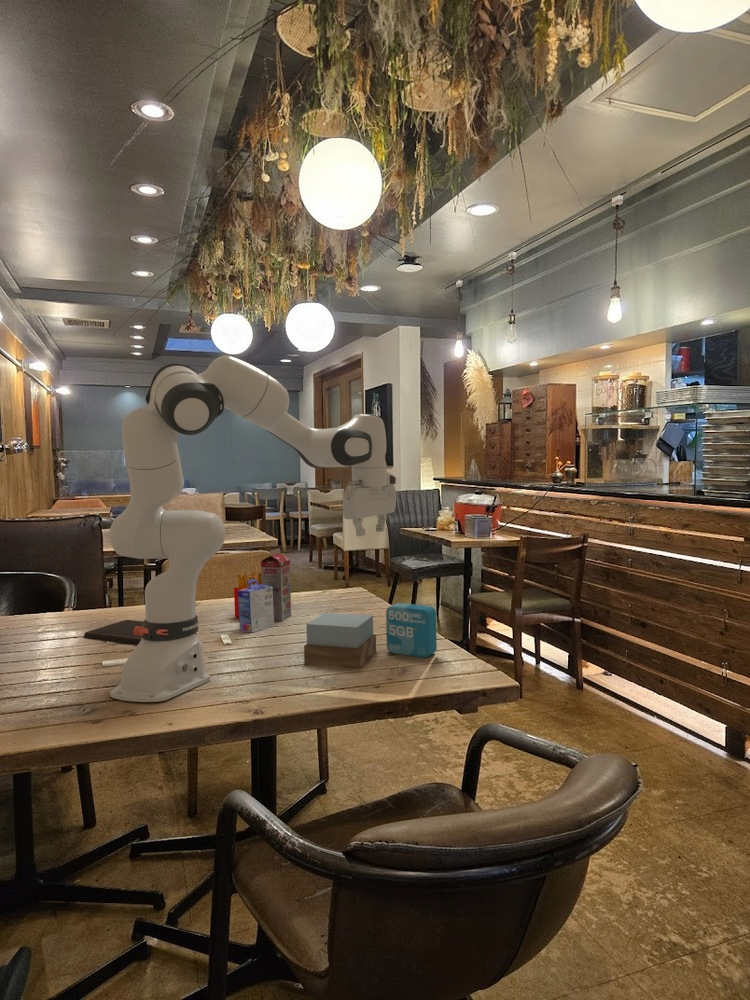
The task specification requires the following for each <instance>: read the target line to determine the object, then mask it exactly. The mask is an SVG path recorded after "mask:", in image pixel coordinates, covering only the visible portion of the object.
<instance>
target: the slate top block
mask: <svg viewBox="0 0 750 1000" xmlns="http://www.w3.org/2000/svg"><path fill="white" fill-rule="evenodd" d="M305 625H306V644H307V645H320V646H334V647H347V648H359V647H360V646H361V645H362V644H363V643H365V642H366V641H367V640H368V639H369V638H370V637H372V636H373V634H374V616H373V615H370V614H369V615H368V614H350V613H349V614H348V613H336V612H334V613H332V612H330V613H329V612H324V613H322V614H320V615H318V616H317V617H316V618H314V619H312V620H311V621H309V622H308V623H306V624H305Z"/></svg>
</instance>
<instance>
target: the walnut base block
mask: <svg viewBox="0 0 750 1000" xmlns="http://www.w3.org/2000/svg"><path fill="white" fill-rule="evenodd" d="M376 652H377V634H376V633H373V636H372V637H370V638H369V639H368V640H367V641H366V642H365V643H363V644H362V645H361V646H360V647H359V648H347V647H334V646H320V645H307V643H306V644H304V646H303V653H304V654H303V658H304V659H303V662H304V665H307V666H309V665H310V666H321V667H322V666H323V667H324V666H325V667H337V668H348V669H349V668H351V669H352V668H353V669H361V668H362V667H363V666H364V665H365V664H366V663H367V662H368V661H369V659H371V658H372V657H373V656H374V655H375V654H376Z"/></svg>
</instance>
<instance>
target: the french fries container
mask: <svg viewBox="0 0 750 1000" xmlns="http://www.w3.org/2000/svg"><path fill="white" fill-rule="evenodd" d="M252 579H256V580H257V582H258V585H262V583H261V572H257V574H256V571H253V572H251V575H250V576H248V574H247V573H243V574H238V575H237V581H238V587H233V595H234V596H233V597H234V599H233V600H234V617H235V618H236V619H237V620H239V605H238V590H242V589H246V588H249V585H248V582H247V580H252ZM250 584H251V585H252V584H256V582H251V583H250Z"/></svg>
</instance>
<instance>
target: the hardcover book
mask: <svg viewBox="0 0 750 1000" xmlns="http://www.w3.org/2000/svg"><path fill="white" fill-rule="evenodd" d="M143 624H144V620H143V621H142V620H141V621H140V620H132V619H130V620H129V619H124V620H121V621H117V622H113V623H111V624H108V625H105V626H100V627H98V628H95V629H91V630H87V631H85V632H84V633H83V637H84V639H89V640H90V639H91V640H95V641H102V642H103V641H104V642H111V643H118V644H125V645H133V646H137V645H138V644H139V642H140V641H141V639H142V638H141V635H135V634H134V633H135V632H133V631H134V629H135V627H136V626H139V627H143Z"/></svg>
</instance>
